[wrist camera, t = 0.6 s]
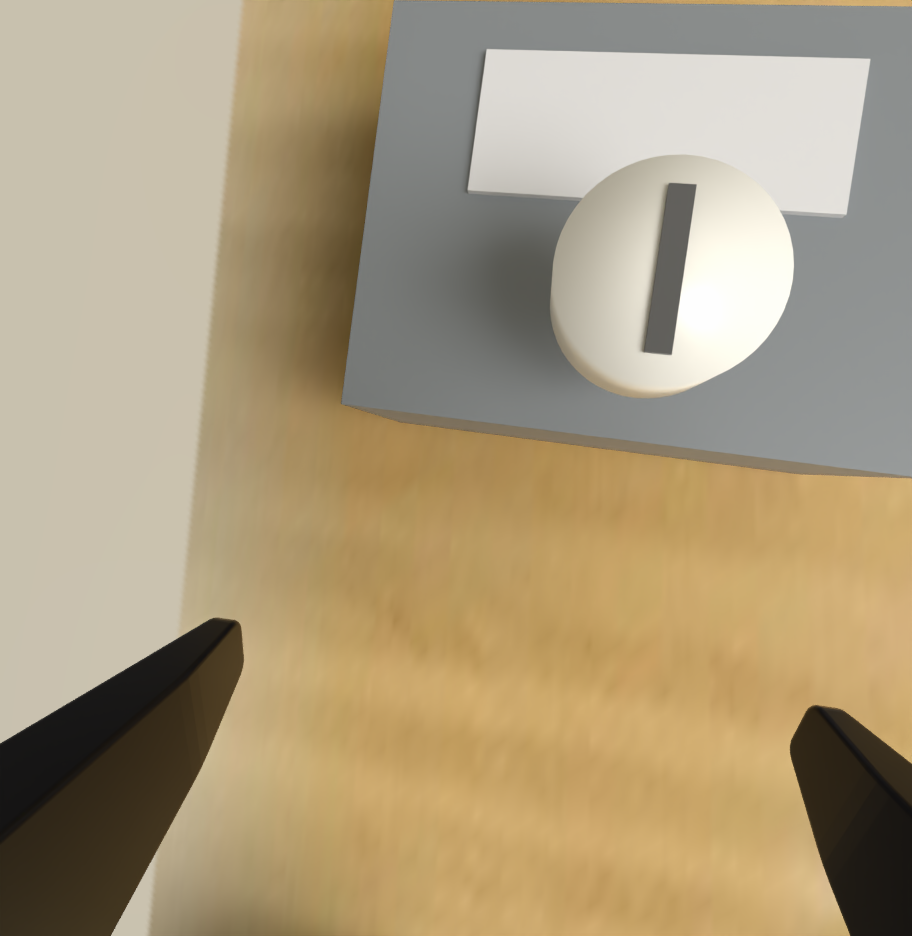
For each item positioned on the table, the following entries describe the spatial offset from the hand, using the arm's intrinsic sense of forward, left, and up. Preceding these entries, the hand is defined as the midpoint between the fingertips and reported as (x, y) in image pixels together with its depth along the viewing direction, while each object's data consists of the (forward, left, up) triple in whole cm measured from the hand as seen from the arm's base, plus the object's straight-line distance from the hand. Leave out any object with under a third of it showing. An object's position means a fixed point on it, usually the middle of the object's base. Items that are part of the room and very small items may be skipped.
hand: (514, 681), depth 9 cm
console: (+11, -2, -14) cm, 18 cm away
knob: (+8, -2, -8) cm, 11 cm away
